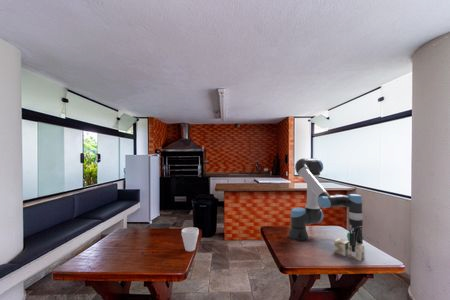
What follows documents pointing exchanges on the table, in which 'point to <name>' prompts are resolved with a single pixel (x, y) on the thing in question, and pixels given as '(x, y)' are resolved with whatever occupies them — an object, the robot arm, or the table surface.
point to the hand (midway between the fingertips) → (356, 254)
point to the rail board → (350, 257)
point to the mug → (349, 237)
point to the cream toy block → (340, 246)
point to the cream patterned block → (359, 250)
